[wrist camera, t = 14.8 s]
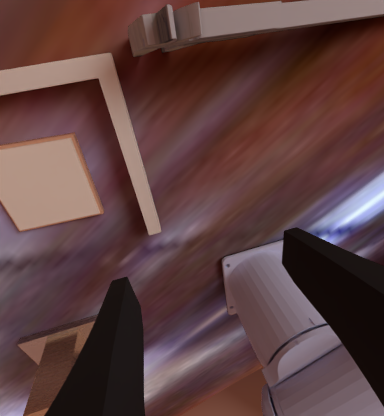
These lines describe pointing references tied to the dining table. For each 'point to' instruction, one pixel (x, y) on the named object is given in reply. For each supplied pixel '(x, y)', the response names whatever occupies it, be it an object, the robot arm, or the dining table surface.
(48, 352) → the scraper
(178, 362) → the dining table surface
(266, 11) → the caliper
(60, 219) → the tile
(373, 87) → the dining table surface
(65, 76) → the frame
